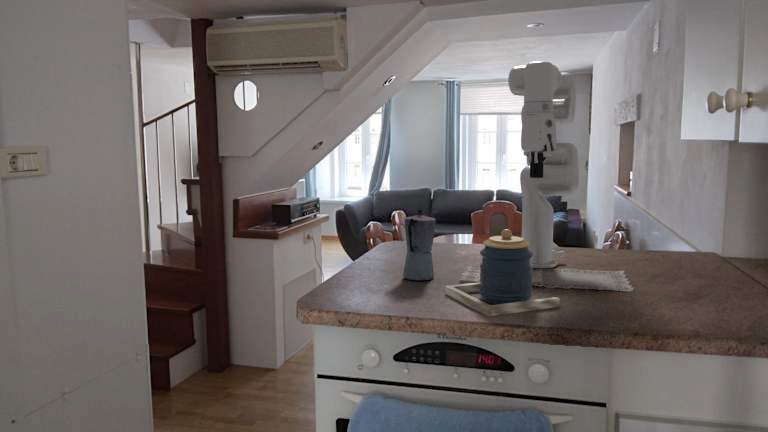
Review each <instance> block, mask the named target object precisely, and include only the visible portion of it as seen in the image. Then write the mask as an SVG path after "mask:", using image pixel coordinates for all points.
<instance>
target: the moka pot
mask: <svg viewBox="0 0 768 432" xmlns="http://www.w3.org/2000/svg"><path fill="white" fill-rule="evenodd" d="M423 212H424V210H423V209H417V215H412V216H411V215H410V216H407V217H404V229H405V231H404V233H405V240H406V241H405V242H406V251H407V252H406V255H405V262H404V268H403V273H402V277H403V278H404V279H406V280H411V281H430V280H433V279H434V278H435V271H434V262H433V254H432V249H433V244H434V237H435V231H436V222H437V220H436V218H434V217H430V216H428V215H427V216H426V215H423Z"/></svg>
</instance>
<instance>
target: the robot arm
mask: <svg viewBox="0 0 768 432" xmlns="http://www.w3.org/2000/svg"><path fill="white" fill-rule="evenodd" d="M575 78H576V77H575V76H574V75H573V74H572V73H570V72H568V71H567V72H566V71H565V72H561V70H560V69H559V67H558V66H557V65H555V64H553V63H552V62H550V61H542V60H541V61H531V62H528V63H527V64H526V65H519V66H517V65H516V66H513V67H512V68H511V69H510V71H509V74H508V80H507V82H508V88H509V91H510V92H511V94H512V95H514V96H519V97H522V96H523V105H522V108H521V111H520V114H521V115H520V116H521V117H520V118H521V134H520V147H521V151H523V156H525V157H526V164H527V166H525V167H524V168H523V169H522V170H521V172H520V176H519V181H520V188H521V189H520V190H521V191H520V192H521V198H522V199H521V205H522V206H521V209H522V211H521V212H522V213H521V238H524V239H525V240H526V241H527V242H529V243H530V246H529V247H528V248H529V250H530V251H532V252H533V256H532V257H531V265H532V266H533V269H551V268H554V267H556V266H558V261H557V260H556V259H557V258H563V257H565V256H566V252H565V251H564V250H562V251H561V250H558V251H556V250H554V249H553V248H554V247H553V246H554V245H553V243H554V216H555V215H554V213H555V212H554V208H553V206H552V204H551V203H550V202H549V201H548V200H547V198H546V197H553V196H556V197H557V196H559V197H560V196H562V197H563V196H567V197H568V196H573V195H575V194H576V193H577V192H578V190H579V186H580V185H579V184H580V171H579V152H578V149H577V146H576V145H574V144H573V143H570V142H557V126H556V125H558V126H559V125H560V126H561V125H564V126H565V125H570V124H572V123H573V121H574V120H575V116H576V104H577V103H576V99H577V83H576V79H575Z"/></svg>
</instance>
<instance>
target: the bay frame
mask: <svg viewBox="0 0 768 432" xmlns="http://www.w3.org/2000/svg"><path fill="white" fill-rule="evenodd" d="M479 288H480V281H479V282H472V283H471V282H470V283H461V284H459V283H458V284H453V285H452V284H451V285H445V287H444V289H445V292H444V294H445V295H447V296H448V297H451V298H452V299H454V300H456V301H458V302H460V303H462V304H464V305H465V306H467V307H469V308H471V309H473V310H474V311H477V312H479V313H480V314H482V315H484V316H486V317H495V316H501V315H508V314H516V313H524V312H531V311H538V310H544V309H545V310H546V309H553V308H560V301H561V299H560V297H557V296H554V297H545V298H537V299H531V300H528V301H521V302H513V303H505V304H498V305H497V304H490V303H488V302H485V301H483V300H480V299H478V298H477V297H474V296H472V295H470V294H469V293H477V292H478V293H479V291H480V290H479Z"/></svg>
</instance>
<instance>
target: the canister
mask: <svg viewBox="0 0 768 432" xmlns="http://www.w3.org/2000/svg"><path fill="white" fill-rule="evenodd" d="M482 243H483V246H484V247H483V248H482V249H481V250H480V251H479V254H480V256H481V262H480V263H479V282H480V288H479V290H480V291H478V293H479V298H480V299H481V301H482V302H485V303H487V304H490V305H498V304H505V303H513V302H521V301H528V300H532V297H533V287H532V286H533V269H534V268H533V266H532V265H531V257H532V256H533V252H532V251H530V250H529V248H528V247H529V246H530V243H529V242H527V241H526V240H525V239H524V238H522V236H521V237H520V236H515V235H513V232H512V231H511V229H508V228H506V229H505V228H504V229H503V230H502V231H501V234H500V235H494V236H490V237H489V238H488V239H486V240H484V241H483V242H482Z"/></svg>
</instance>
